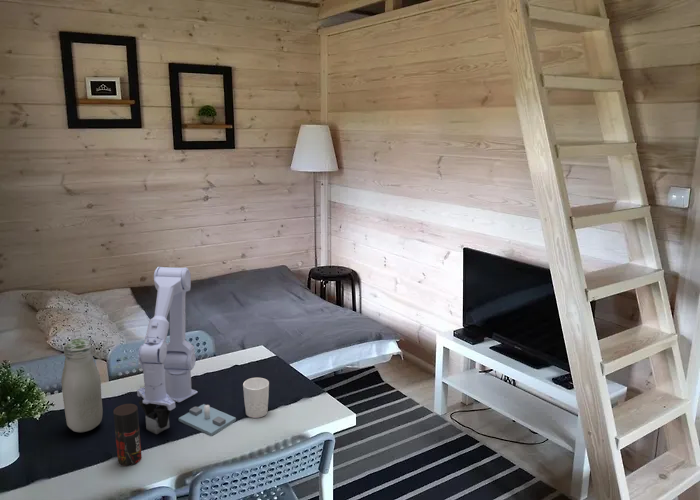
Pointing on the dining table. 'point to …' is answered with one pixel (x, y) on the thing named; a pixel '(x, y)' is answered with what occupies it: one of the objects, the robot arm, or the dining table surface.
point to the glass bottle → (81, 387)
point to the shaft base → (207, 419)
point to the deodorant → (127, 434)
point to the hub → (154, 423)
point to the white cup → (256, 397)
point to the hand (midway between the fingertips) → (157, 423)
